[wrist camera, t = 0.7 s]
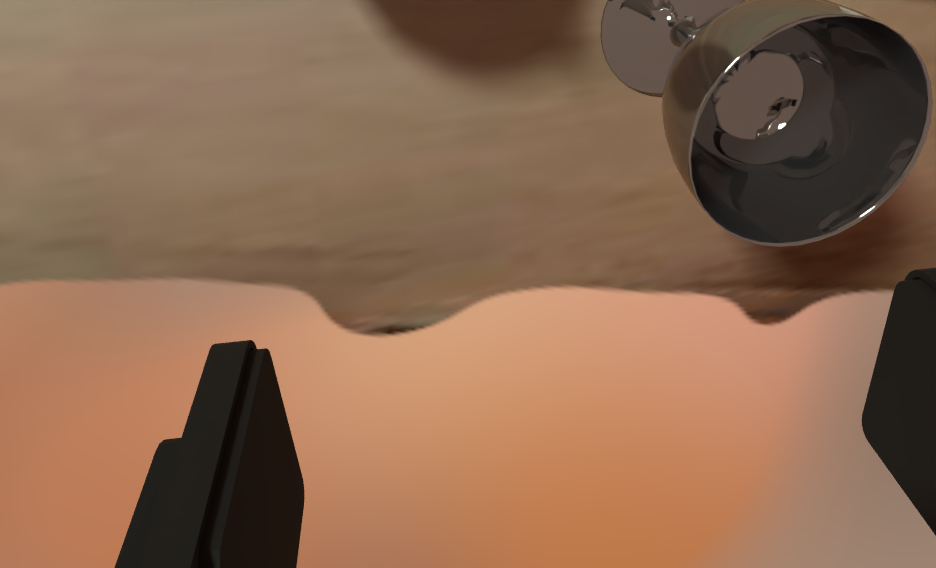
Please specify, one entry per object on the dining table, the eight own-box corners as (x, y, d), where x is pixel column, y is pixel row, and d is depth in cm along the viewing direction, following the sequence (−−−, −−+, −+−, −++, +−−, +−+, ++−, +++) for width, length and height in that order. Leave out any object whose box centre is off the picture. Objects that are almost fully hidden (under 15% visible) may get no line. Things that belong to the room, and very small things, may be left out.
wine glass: (781, -44, 37) (980, 43, 25) (718, 117, 41) (862, 262, 29) (621, -81, 36) (746, -10, 23) (572, 88, 40) (656, 228, 27)
